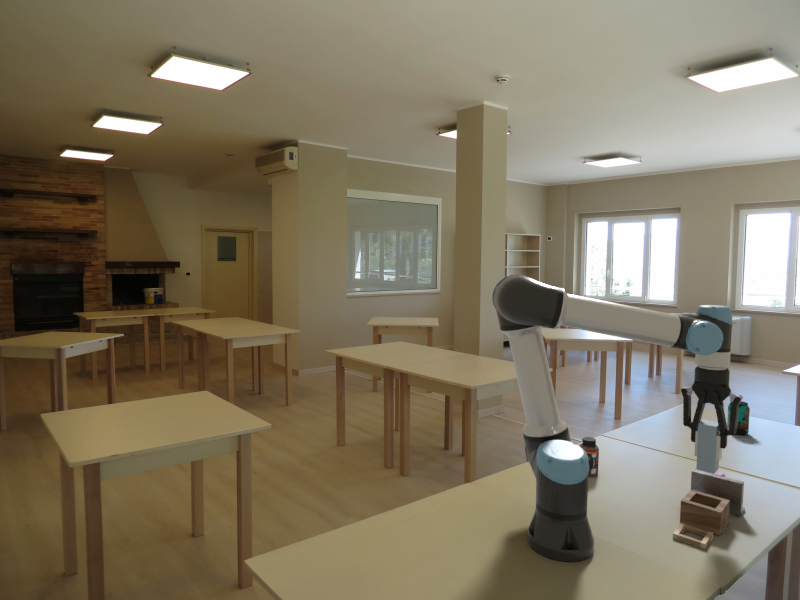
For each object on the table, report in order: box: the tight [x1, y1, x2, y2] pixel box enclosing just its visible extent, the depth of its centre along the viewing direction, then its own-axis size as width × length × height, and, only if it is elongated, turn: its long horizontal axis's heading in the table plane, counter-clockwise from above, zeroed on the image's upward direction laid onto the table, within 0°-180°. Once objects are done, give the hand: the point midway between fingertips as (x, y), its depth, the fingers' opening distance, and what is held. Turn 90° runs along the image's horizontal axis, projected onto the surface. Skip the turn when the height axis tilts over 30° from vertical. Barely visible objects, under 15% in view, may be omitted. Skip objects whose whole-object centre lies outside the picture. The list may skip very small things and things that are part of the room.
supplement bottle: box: [579, 436, 600, 478], centre depth 164 cm, size 6×6×11 cm
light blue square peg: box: [695, 419, 720, 474], centre depth 132 cm, size 4×4×12 cm
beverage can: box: [726, 400, 751, 436], centre depth 203 cm, size 7×7×12 cm
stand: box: [672, 523, 714, 550], centre depth 127 cm, size 7×7×1 cm
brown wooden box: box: [679, 489, 730, 536], centre depth 134 cm, size 9×9×6 cm
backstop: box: [690, 468, 746, 518], centre depth 143 cm, size 5×12×9 cm, turn 46°
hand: (707, 457), depth 133 cm, fingers closed on light blue square peg, 4 cm apart
